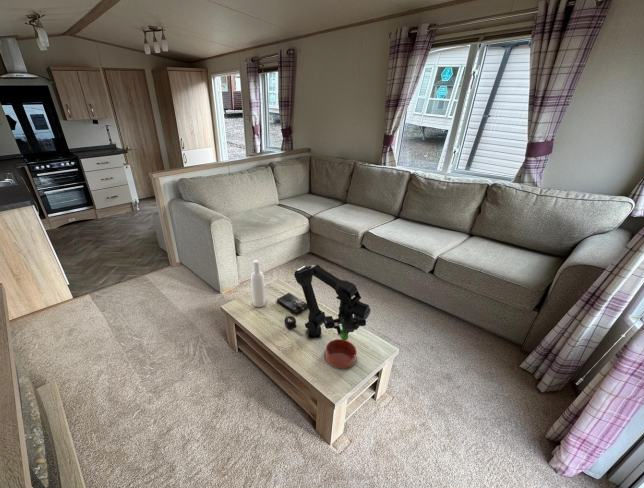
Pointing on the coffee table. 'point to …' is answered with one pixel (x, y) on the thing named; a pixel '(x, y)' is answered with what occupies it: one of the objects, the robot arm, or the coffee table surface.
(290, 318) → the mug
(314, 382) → the coffee table surface
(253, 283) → the bottle
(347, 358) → the red bowl
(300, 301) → the stove knob
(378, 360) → the coffee table surface
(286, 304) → the stove
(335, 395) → the coffee table surface
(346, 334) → the cucumber
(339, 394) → the coffee table surface
